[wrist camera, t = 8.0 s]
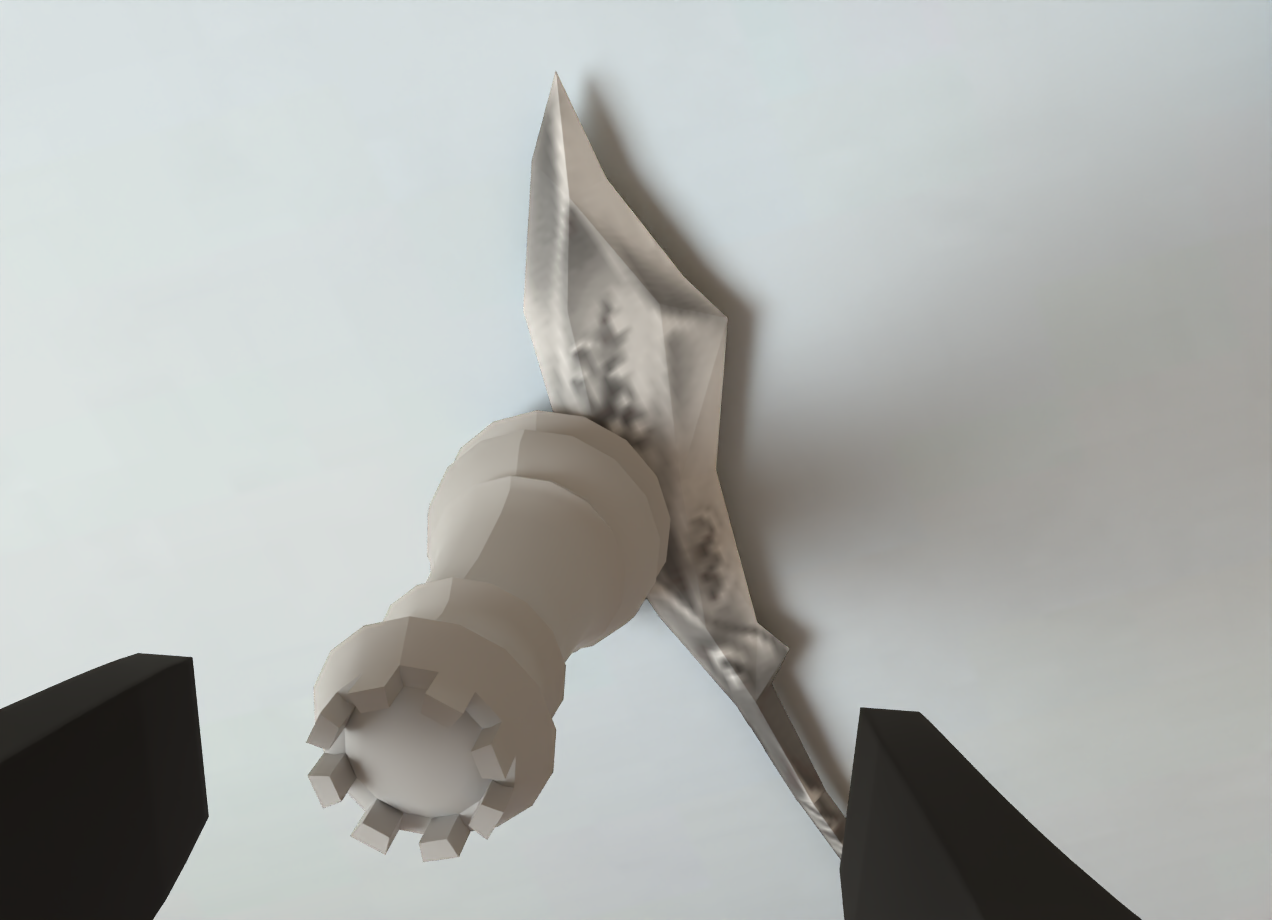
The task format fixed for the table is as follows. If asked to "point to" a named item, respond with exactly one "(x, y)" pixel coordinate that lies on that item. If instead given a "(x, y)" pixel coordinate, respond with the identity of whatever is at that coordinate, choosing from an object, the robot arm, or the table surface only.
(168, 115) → the table surface
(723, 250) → the table surface
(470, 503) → the rook chess piece
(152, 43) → the table surface
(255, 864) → the table surface
